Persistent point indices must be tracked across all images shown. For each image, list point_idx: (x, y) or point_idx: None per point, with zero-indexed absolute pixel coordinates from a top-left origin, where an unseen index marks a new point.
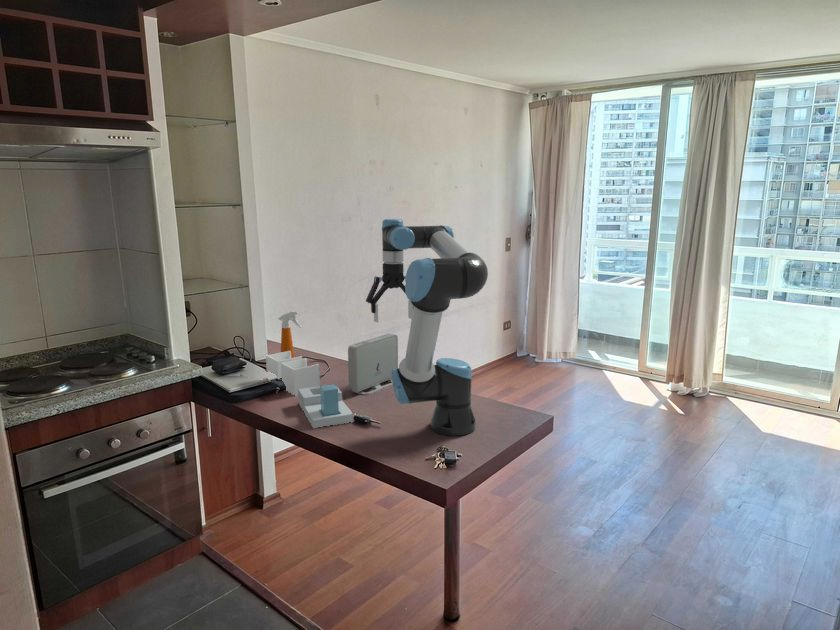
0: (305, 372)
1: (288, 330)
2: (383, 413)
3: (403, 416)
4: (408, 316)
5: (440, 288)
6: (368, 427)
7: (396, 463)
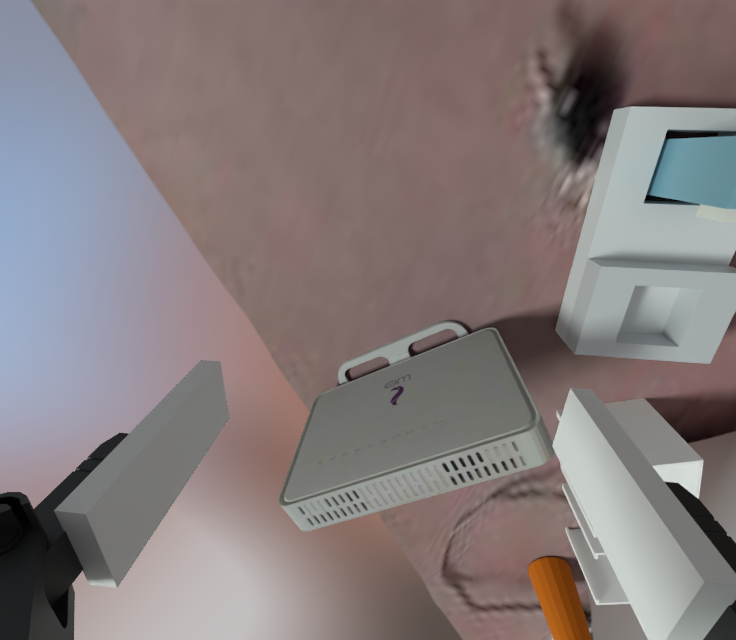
0: (641, 451)
1: None
2: (481, 143)
3: (431, 81)
4: (223, 422)
5: None
6: (595, 30)
7: None
